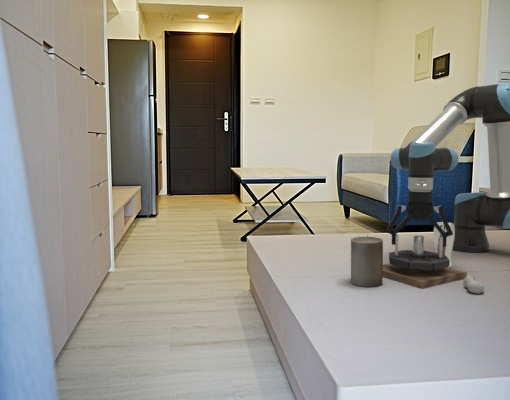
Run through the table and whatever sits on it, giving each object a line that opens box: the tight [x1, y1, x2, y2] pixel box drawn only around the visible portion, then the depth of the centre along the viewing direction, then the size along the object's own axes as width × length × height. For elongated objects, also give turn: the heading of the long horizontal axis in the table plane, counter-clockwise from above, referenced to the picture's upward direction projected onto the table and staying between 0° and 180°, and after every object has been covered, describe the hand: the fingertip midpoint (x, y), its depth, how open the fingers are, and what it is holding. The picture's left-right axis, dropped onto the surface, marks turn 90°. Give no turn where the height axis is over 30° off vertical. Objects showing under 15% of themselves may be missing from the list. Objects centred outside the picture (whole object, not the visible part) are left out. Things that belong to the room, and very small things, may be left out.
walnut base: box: [382, 263, 468, 289], centre depth 154 cm, size 21×21×2 cm
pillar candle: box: [350, 234, 384, 288], centre depth 146 cm, size 10×10×15 cm
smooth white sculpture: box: [463, 274, 485, 295], centre depth 138 cm, size 4×8×5 cm
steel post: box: [412, 234, 425, 271], centre depth 154 cm, size 4×4×11 cm
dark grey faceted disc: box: [388, 249, 450, 270], centre depth 154 cm, size 18×18×2 cm
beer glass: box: [433, 221, 455, 268], centre depth 166 cm, size 7×7×15 cm
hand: (418, 255), depth 154 cm, fingers open, 13 cm apart
